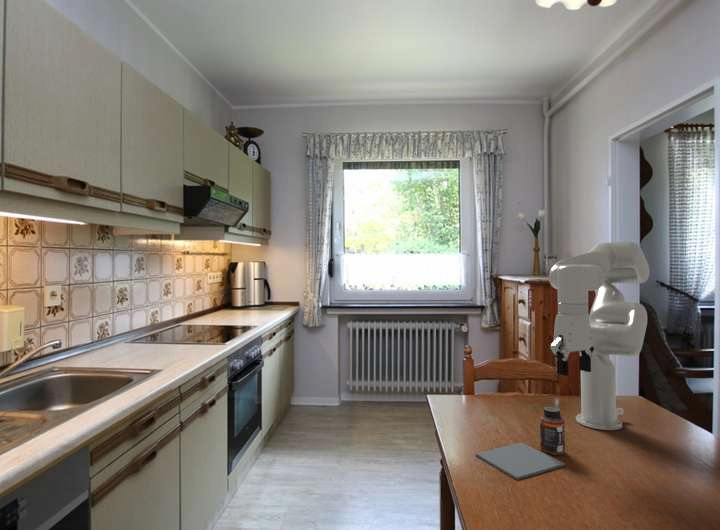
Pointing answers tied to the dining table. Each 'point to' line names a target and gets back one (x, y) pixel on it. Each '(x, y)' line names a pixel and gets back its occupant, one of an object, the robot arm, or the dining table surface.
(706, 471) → the dining table surface
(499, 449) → the mat
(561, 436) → the supplement bottle
